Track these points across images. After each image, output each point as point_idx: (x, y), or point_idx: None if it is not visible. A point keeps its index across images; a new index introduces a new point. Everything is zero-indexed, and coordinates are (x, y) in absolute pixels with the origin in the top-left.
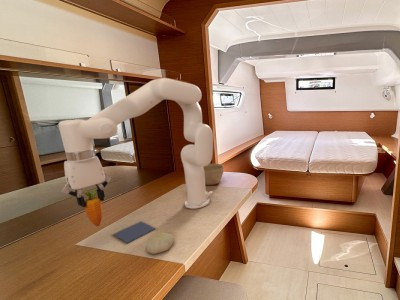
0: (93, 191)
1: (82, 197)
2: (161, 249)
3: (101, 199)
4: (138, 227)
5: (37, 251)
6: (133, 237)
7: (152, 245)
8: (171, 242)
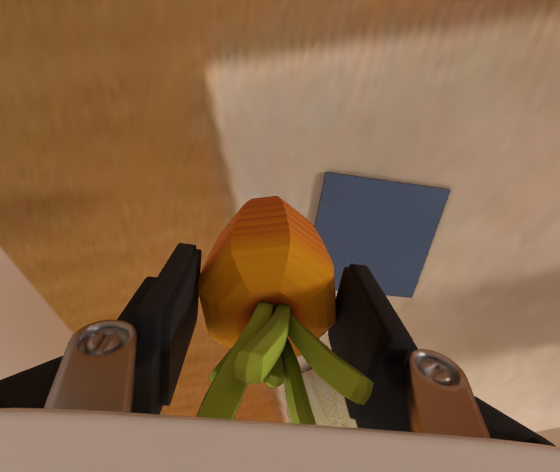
0: (320, 374)
1: (154, 408)
2: None
3: (331, 338)
4: (401, 230)
5: None
6: (335, 278)
7: None
8: None
